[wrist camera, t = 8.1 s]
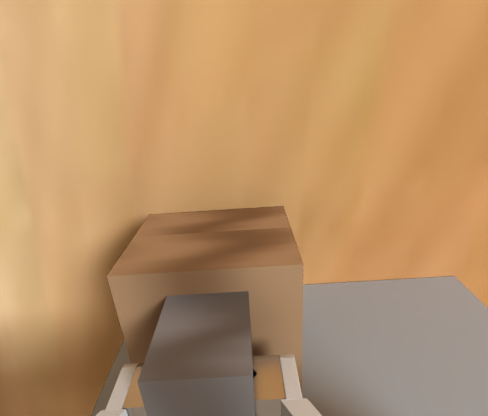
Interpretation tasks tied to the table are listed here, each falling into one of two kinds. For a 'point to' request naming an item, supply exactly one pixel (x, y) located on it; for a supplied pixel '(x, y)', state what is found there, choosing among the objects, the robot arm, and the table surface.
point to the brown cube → (208, 306)
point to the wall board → (386, 349)
